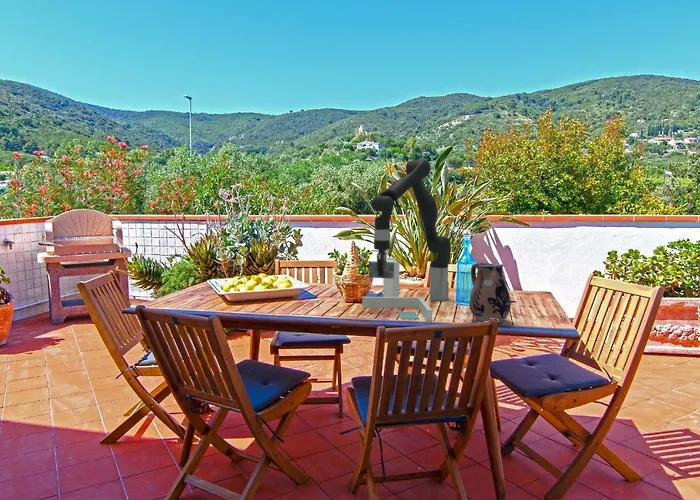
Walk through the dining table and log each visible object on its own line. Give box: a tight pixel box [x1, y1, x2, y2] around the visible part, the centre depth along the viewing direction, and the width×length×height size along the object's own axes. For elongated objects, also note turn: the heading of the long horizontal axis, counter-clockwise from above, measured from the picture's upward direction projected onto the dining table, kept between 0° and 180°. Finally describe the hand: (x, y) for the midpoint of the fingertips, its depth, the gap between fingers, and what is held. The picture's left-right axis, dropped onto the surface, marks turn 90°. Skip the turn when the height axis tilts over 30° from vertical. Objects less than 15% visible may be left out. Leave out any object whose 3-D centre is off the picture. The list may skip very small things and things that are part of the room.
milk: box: [382, 256, 401, 297], centre depth 286 cm, size 6×6×22 cm
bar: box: [368, 261, 394, 279], centre depth 257 cm, size 11×5×7 cm, turn 77°
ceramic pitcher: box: [468, 262, 512, 324], centre depth 239 cm, size 18×21×25 cm
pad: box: [397, 311, 420, 320], centre depth 250 cm, size 8×14×1 cm, turn 1°
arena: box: [361, 296, 433, 322], centre depth 253 cm, size 29×30×5 cm
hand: (381, 274), depth 257 cm, fingers closed on bar, 5 cm apart
